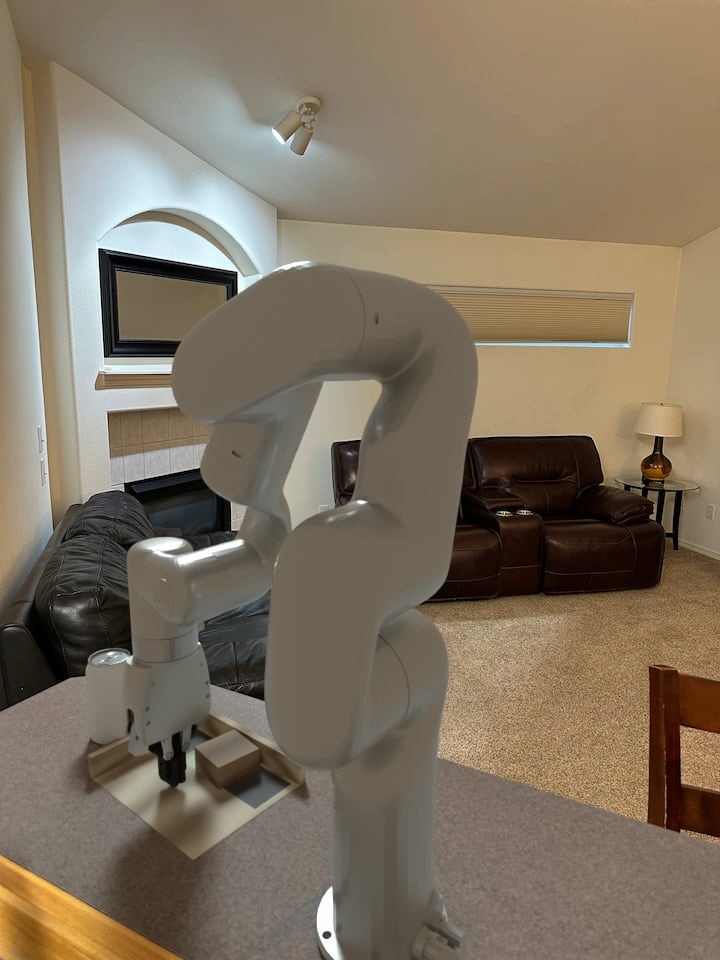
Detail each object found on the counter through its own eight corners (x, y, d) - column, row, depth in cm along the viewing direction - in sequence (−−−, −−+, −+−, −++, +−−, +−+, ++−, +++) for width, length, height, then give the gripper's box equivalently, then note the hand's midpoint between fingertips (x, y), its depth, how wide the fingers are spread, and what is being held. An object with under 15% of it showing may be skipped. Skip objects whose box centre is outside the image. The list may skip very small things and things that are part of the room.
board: (305, 788, 81) (305, 759, 80) (193, 868, 68) (191, 834, 67) (199, 726, 95) (198, 701, 94) (89, 783, 82) (87, 754, 81)
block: (259, 769, 83) (259, 748, 83) (219, 789, 79) (218, 767, 79) (235, 749, 88) (234, 729, 87) (195, 767, 84) (194, 746, 83)
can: (145, 722, 96) (140, 647, 94) (125, 748, 90) (120, 668, 87) (104, 720, 97) (98, 645, 94) (81, 745, 90) (75, 666, 88)
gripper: (199, 615, 84) (204, 742, 87) (89, 653, 73) (100, 797, 76) (235, 630, 79) (239, 764, 83) (123, 673, 68) (134, 826, 72)
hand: (173, 780), depth 79 cm, fingers closed
